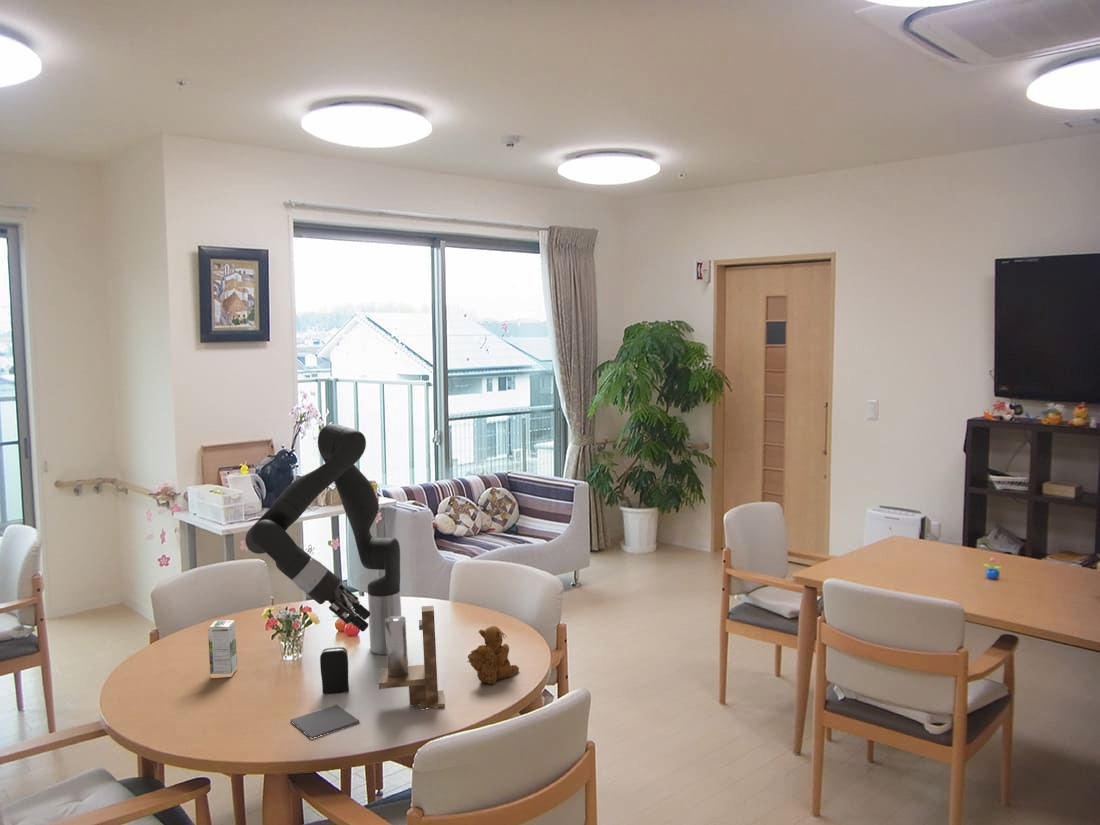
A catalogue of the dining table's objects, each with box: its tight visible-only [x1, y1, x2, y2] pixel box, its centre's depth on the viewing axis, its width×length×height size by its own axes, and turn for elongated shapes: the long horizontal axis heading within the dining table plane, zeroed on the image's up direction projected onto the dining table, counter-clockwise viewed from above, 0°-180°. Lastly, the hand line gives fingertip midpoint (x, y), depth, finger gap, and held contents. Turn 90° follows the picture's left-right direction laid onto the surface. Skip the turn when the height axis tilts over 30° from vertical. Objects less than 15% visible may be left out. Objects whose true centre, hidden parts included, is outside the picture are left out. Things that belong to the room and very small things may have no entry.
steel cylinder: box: [385, 615, 409, 678], centre depth 209 cm, size 5×5×14 cm
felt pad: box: [290, 704, 360, 738], centre depth 202 cm, size 12×12×1 cm
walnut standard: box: [378, 605, 446, 711], centre depth 210 cm, size 16×9×24 cm, turn 99°
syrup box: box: [207, 619, 238, 674], centre depth 233 cm, size 6×6×14 cm
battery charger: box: [319, 646, 350, 695], centre depth 219 cm, size 7×4×11 cm, turn 99°
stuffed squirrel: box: [467, 625, 520, 685], centre depth 225 cm, size 10×14×13 cm
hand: (367, 622), depth 207 cm, fingers open, 8 cm apart
